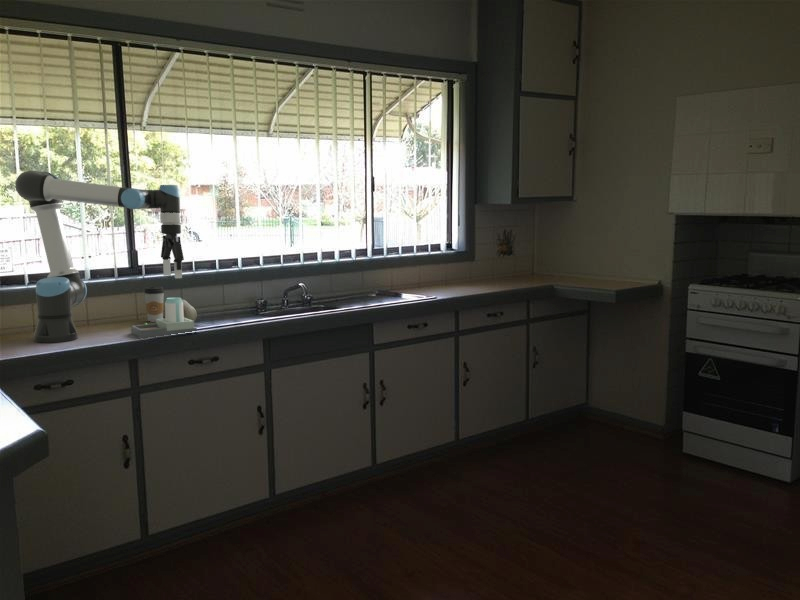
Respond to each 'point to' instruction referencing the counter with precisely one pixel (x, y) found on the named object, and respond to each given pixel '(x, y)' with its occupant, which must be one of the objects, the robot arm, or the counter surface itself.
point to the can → (174, 310)
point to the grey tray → (163, 328)
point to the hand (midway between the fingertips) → (172, 276)
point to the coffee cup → (154, 303)
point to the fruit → (189, 311)
